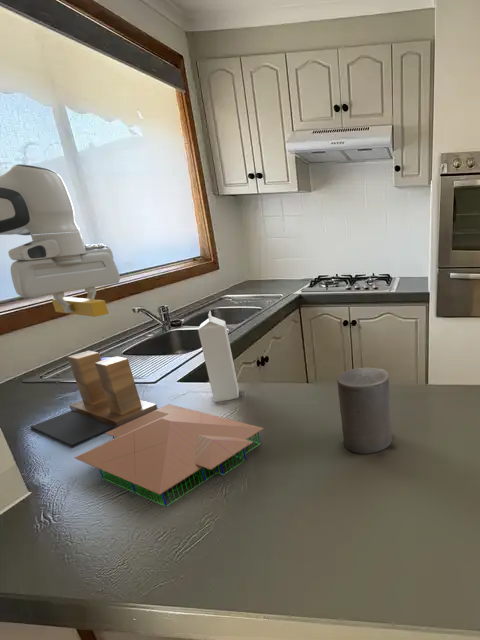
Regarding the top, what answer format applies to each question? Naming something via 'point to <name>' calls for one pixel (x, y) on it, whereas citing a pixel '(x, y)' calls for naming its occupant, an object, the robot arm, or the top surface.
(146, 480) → the house
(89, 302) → the bar
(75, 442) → the mat
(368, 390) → the pillar candle
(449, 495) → the top surface
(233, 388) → the milk
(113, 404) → the tower
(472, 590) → the top surface
